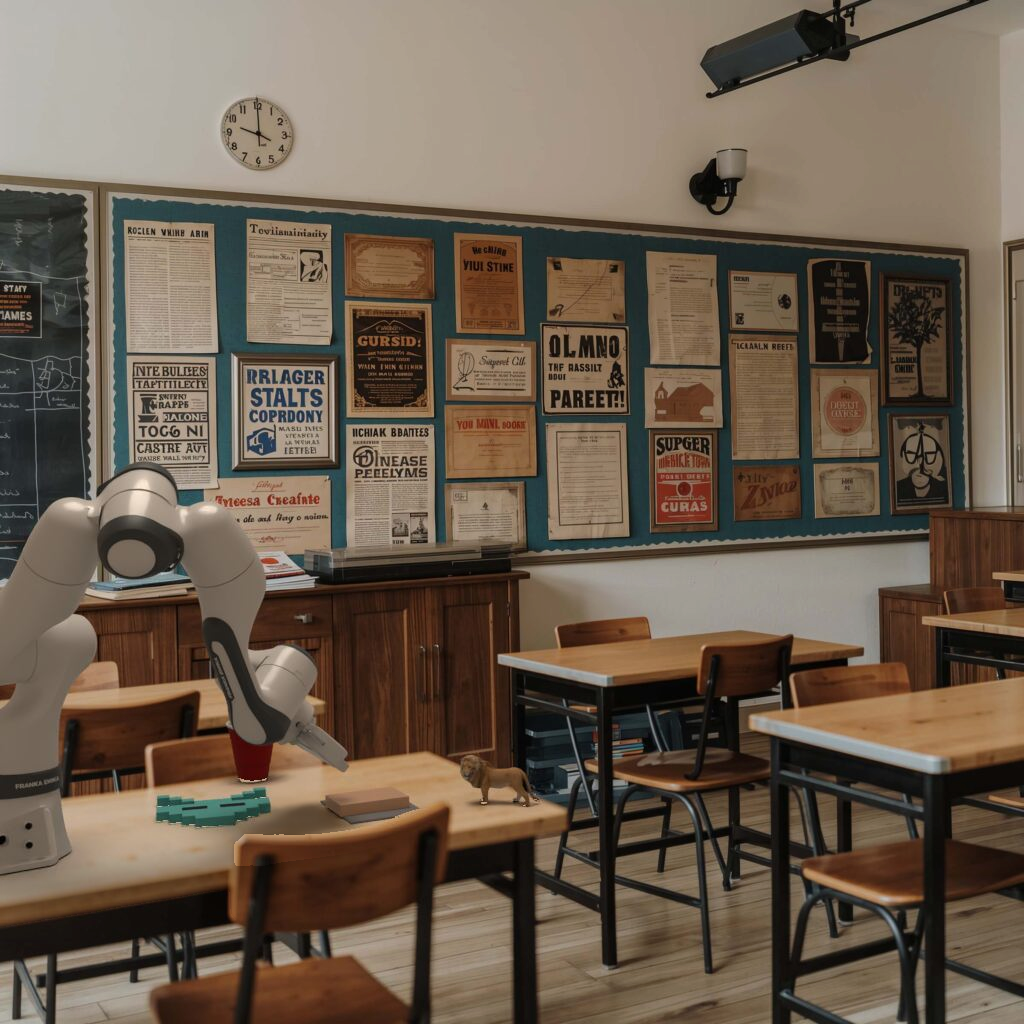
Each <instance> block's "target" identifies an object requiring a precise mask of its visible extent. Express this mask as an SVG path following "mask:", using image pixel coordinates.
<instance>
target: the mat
mask: <svg viewBox="0 0 1024 1024" xmlns="http://www.w3.org/2000/svg"><path fill="white" fill-rule="evenodd" d="M320 803H321V804H322V805H324V806H325V807H326V802H325V799H324V800H320ZM419 808H420V807H418V806H417V805H415V804H413V803H411V802H410V801H409V807H408V808H400V809H393V810H386V811H379V812H372V813H364V814H357V815H350V816H343V817H341V819H343V820H345V821H346V822H348V823H349V824H350V825H355V824H361V823H368V822H375V821H383V820H388V819H387V818H391V817H395V816H398V815H401V814H403V813H406V812H409V811H412V810H416V809H419ZM391 819H392V818H391Z"/></svg>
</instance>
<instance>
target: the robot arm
mask: <svg viewBox="0 0 1024 1024" xmlns="http://www.w3.org/2000/svg"><path fill="white" fill-rule="evenodd" d="M178 488H179V487H178V485H177V482H176V480H175V477H174V476H173V475H172V474H171V472H170V471H169V470H168V469H167V468H166V467H164V466H162V464H159V463H157V462H153V461H147V460H146V461H145V460H144V461H141V460H140V461H136V462H133V463H130V464H128V465H126V466H124V467H123V468H121V469H120V470H119V471H118V472H116V474H115V475H113V476H112V477H111V478H109V479H108V480H106V481H105V482H102V483H101V484H100V485H98V487H96V493H95V494H96V495H95V496H96V497H95V499H91V500H87V499H84V498H81V497H73V496H72V497H71V496H70V497H63V498H60V499H57V500H55V501H54V502H52V503H51V504H50V505H49V506H48V507H47V509H46V510H45V511H44V512H43V513H42V515H41V516H40V518H39V519H38V521H37V522H36V524H35V526H34V527H33V529H32V531H31V532H30V534H29V536H28V538H27V540H26V542H25V545H24V547H23V549H22V551H21V553H20V555H19V557H18V560H17V562H16V564H15V566H14V568H13V570H12V572H11V574H10V577H9V578H8V580H7V582H6V583H5V585H3V587H2V588H1V589H0V686H1V687H2V686H6V685H14V684H15V689H14V690H13V694H12V695H11V697H10V699H9V700H8V701H7V703H6V704H4V706H2V707H1V708H0V875H4V874H9V873H16V872H21V871H25V870H32V869H37V868H42V867H43V868H44V867H48V866H53V865H55V864H56V863H58V861H59V859H61V858H62V857H65V856H66V855H68V854H69V853H70V852H71V851H72V849H73V847H72V845H71V842H70V839H69V836H68V832H67V828H66V824H65V820H64V818H65V817H64V814H63V805H62V797H63V785H64V783H63V781H64V780H63V772H62V771H63V770H62V764H61V763H60V762H59V737H60V736H59V735H60V733H59V732H60V719H61V713H62V709H63V705H64V703H65V700H66V698H67V696H68V693H69V691H70V690H71V687H72V686H73V684H74V683H75V681H76V680H77V679H78V678H79V676H80V675H81V674H82V673H83V672H84V671H85V670H87V669H88V668H89V667H90V665H91V664H92V663H93V661H94V658H95V656H96V655H97V654H96V653H97V648H98V637H97V633H96V631H95V628H94V627H93V625H92V624H91V622H90V621H89V620H88V618H86V617H85V616H84V615H81V614H75V612H76V611H77V609H78V608H79V606H80V603H81V601H82V599H83V597H84V596H85V593H86V591H87V589H88V587H89V585H90V583H91V580H92V578H93V576H94V574H95V572H96V569H97V568H98V565H99V562H101V564H102V566H103V567H104V569H105V570H106V571H107V572H108V573H110V574H111V575H113V576H115V577H117V578H118V579H122V580H129V581H130V580H131V581H132V580H133V581H136V580H137V581H138V580H144V579H149V578H153V577H156V576H157V575H159V574H161V573H170V572H172V571H173V570H174V569H175V568H176V567H177V566H178V565H179V564H180V565H182V567H183V568H184V570H185V572H186V574H187V575H188V578H189V579H190V581H191V583H192V585H193V587H194V590H195V592H196V595H197V598H198V603H199V606H200V612H201V621H202V622H201V633H202V634H201V635H202V639H203V642H204V646H205V649H206V652H207V655H208V658H209V660H210V663H211V666H212V669H213V671H214V673H215V677H214V681H215V684H216V686H217V687H218V688H219V690H220V691H221V692H222V693H223V695H224V698H225V701H226V705H227V714H228V719H229V721H230V722H231V725H232V727H233V729H234V731H235V733H236V734H237V735H238V736H239V737H240V738H241V739H242V740H244V741H245V742H247V743H249V744H252V745H256V746H263V745H269V744H273V745H274V744H276V743H277V744H278V745H280V746H284V745H286V744H289V745H290V746H297V747H298V748H300V749H302V750H303V751H306V752H307V753H309V755H310V754H311V755H312V756H314V757H315V758H316V759H318V760H320V761H322V762H324V763H325V764H327V765H328V766H330V767H332V768H333V769H336V770H337V771H340V772H341V773H346V772H347V771H348V769H349V767H350V764H349V763H348V762H347V761H345V759H346V757H347V756H348V751H347V750H346V749H345V747H343V746H342V745H341V743H339V742H338V741H337V740H335V739H334V738H333V737H332V736H331V735H330V734H329V733H328V732H326V731H325V730H324V729H323V728H321V727H319V726H318V725H316V722H317V718H316V717H315V716H314V713H315V707H314V706H313V704H311V703H310V702H309V701H308V700H307V699H306V698H307V696H308V694H309V693H310V691H311V690H312V688H313V686H314V684H315V682H316V681H317V677H318V676H319V670H318V666H317V664H316V661H315V660H314V658H313V657H312V656H311V654H310V653H308V651H307V650H306V649H304V648H303V647H302V646H300V645H298V644H295V643H294V644H293V643H282V644H277V645H276V646H274V647H272V648H268V649H259V650H253V649H249V641H250V636H251V632H252V629H253V624H254V622H255V620H256V617H257V615H258V612H259V609H260V607H261V604H262V602H263V600H264V599H265V593H266V590H267V577H266V571H265V568H264V564H263V562H262V560H261V558H260V556H259V554H258V552H257V551H256V549H255V547H254V545H253V543H252V541H251V539H250V538H249V536H248V534H247V533H246V532H245V530H244V528H243V527H242V526H241V524H240V523H239V522H238V521H237V519H236V518H235V517H234V515H233V514H232V513H231V512H230V511H229V510H228V509H227V508H226V506H224V505H222V504H221V503H219V502H217V501H211V500H207V501H206V500H205V501H199V502H196V503H193V504H191V505H189V506H188V505H185V506H184V505H180V504H179V501H180V500H179V499H180V497H179V489H178ZM173 564H174V565H173ZM172 565H173V566H172ZM171 566H172V567H171Z"/></svg>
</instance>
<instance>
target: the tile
mask: <svg viewBox="0 0 1024 1024" xmlns="http://www.w3.org/2000/svg"><path fill="white" fill-rule="evenodd" d="M324 798H325V799H324V800H325V802H326V806H325V807H326V808H328V809H329V810H331V811H333V812H334V813H335V814H336V815H337V816H339V817H340V818H342V817H343V816H350V815H357V814H364V813H372V812H379V811H386V810H393V809H400V808H408V807H409V802H410V796H409V795H408V794H405V793H404V792H402V791H401V790H399V789H397V788H396V787H393V786H386V787H378V788H370V789H364V790H363V789H362V790H356V791H348V792H346V791H345V792H339V793H331V794H325V797H324Z"/></svg>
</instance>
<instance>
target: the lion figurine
mask: <svg viewBox="0 0 1024 1024" xmlns="http://www.w3.org/2000/svg"><path fill="white" fill-rule="evenodd" d="M459 772H460V775H461V778H462V779H463V780H465V781H466V782H467V783H469V784H470V785H471V787H472V788H475V789H480V791H481V796H482V799H483V801H480V802H489V792H490V788H491V789H504V788H507V787H509V786H511V787H512V789H513V790H514V791H515V792H516V797H514V798H512V800H513V801H519V802H520V800H521V798H523V799H524V801H523V802H522V803H521V805H522V804H523V805H530V797H531V799H532V798H533V799H532V800H533V801H534V802H538V801H537V800H540V801H541V799H540V798H538V797H536V796H534V794H533V791H532V788H531V784H530V781H529V779H528V776H527V775H526V773H525V772H524V771H523V770H522V769H521V768H519V767H515V766H514V767H509V768H497V767H495V766H494V765H493V764H492V763H491V762H489V761H487V760H484V759H483V758H482V757H479V756H477V755H473V754H470V755H469V754H468V755H465V756H464V757H463V758H461V759H460V770H459ZM524 782H525V785H526V788H527V790H528V792H527V791H526V790H525V788H524V786H523V783H524ZM534 799H537V800H534ZM513 801H512V802H513ZM523 805H522V806H523Z"/></svg>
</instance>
